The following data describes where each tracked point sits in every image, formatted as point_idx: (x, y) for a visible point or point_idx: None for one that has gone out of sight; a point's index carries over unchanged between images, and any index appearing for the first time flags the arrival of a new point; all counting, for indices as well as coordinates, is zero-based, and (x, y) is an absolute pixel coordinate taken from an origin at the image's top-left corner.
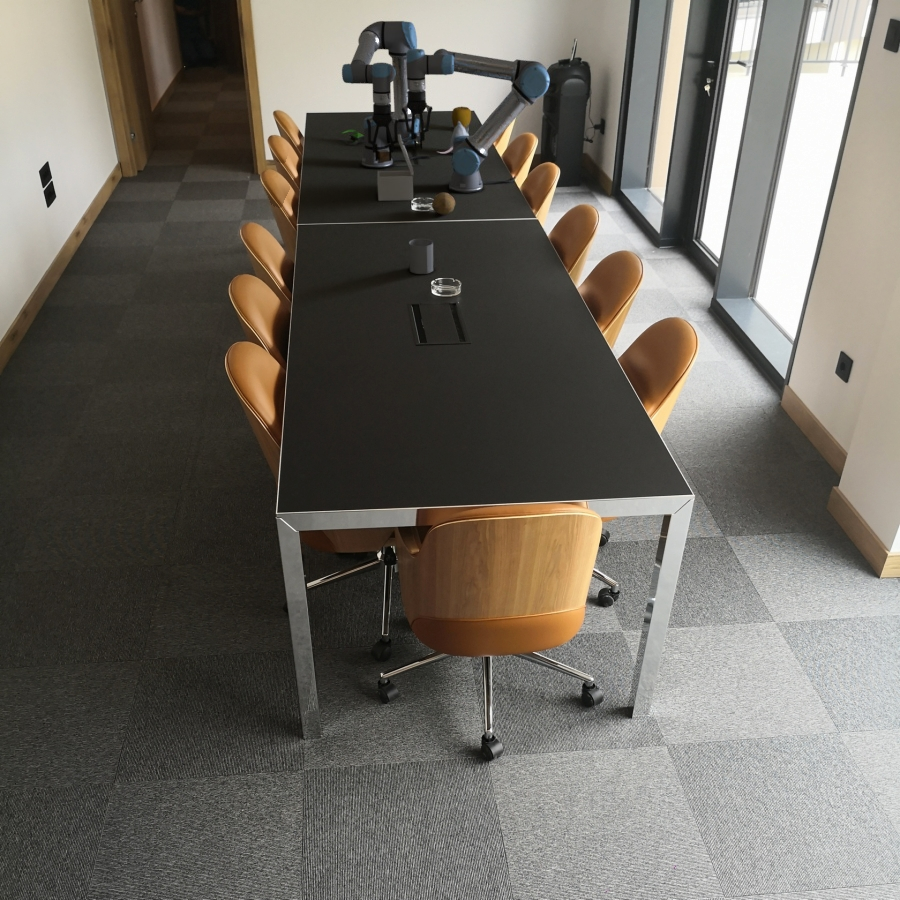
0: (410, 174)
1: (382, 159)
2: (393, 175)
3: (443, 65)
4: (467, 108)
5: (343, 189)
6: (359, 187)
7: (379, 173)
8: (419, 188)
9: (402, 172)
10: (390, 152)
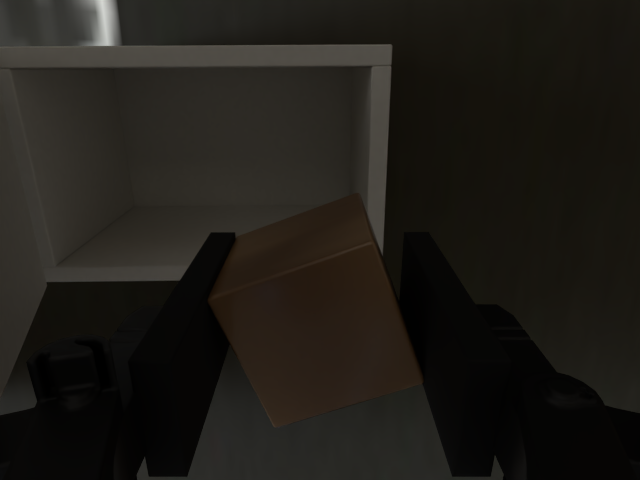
0: (71, 248)
1: (333, 211)
2: None
3: None
4: None
5: (571, 321)
6: None
7: None
8: (100, 321)
9: (140, 259)
10: (187, 283)
